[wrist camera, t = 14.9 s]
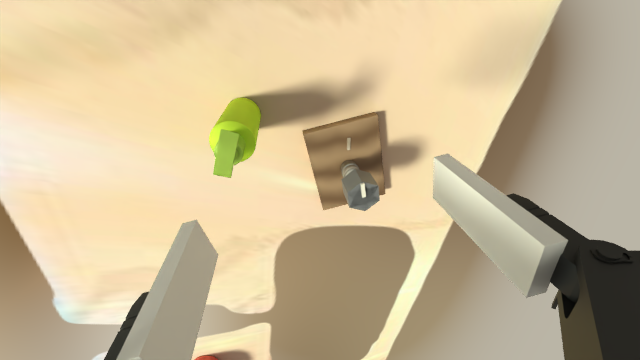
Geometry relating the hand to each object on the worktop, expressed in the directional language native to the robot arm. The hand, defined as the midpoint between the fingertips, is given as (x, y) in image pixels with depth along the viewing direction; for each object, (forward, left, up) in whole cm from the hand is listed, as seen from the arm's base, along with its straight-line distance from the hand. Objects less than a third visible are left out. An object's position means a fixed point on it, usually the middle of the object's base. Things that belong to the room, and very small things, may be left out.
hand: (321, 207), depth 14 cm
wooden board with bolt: (+17, +7, -35) cm, 39 cm away
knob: (+17, +7, -26) cm, 32 cm away
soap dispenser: (+2, -9, -35) cm, 36 cm away
